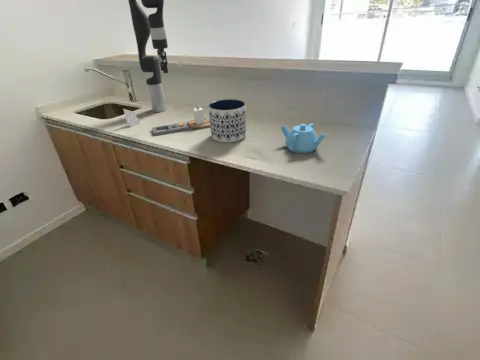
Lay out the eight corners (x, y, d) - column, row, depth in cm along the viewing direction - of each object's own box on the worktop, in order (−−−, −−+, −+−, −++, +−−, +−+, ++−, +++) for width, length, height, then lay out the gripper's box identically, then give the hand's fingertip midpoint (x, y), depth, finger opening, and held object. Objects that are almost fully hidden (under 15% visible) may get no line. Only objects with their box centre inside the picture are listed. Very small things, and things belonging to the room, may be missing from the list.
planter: (207, 133, 144) (204, 102, 135) (239, 127, 149) (237, 97, 140) (217, 145, 129) (214, 112, 121) (251, 139, 134) (251, 106, 126)
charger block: (195, 122, 155) (193, 106, 150) (202, 121, 156) (200, 105, 152) (197, 124, 151) (195, 108, 147) (204, 123, 153) (202, 107, 148)
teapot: (309, 138, 133) (311, 116, 127) (324, 153, 119) (328, 129, 113) (279, 141, 131) (280, 119, 125) (291, 157, 117) (292, 133, 111)
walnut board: (187, 123, 157) (187, 121, 157) (207, 120, 161) (206, 118, 160) (192, 130, 148) (192, 128, 147) (213, 126, 152) (213, 124, 151)
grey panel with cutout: (152, 130, 150) (151, 126, 149) (184, 124, 156) (184, 120, 154) (154, 135, 143) (153, 131, 142) (188, 129, 149) (187, 125, 147)
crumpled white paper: (119, 123, 154) (123, 108, 152) (135, 127, 162) (138, 113, 161) (123, 124, 152) (126, 109, 151) (138, 128, 160) (142, 114, 159)
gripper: (149, 37, 142) (155, 70, 150) (153, 39, 131) (159, 74, 139) (164, 36, 144) (169, 69, 153) (168, 38, 133) (174, 73, 142)
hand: (164, 71), depth 146 cm, fingers open, 8 cm apart
